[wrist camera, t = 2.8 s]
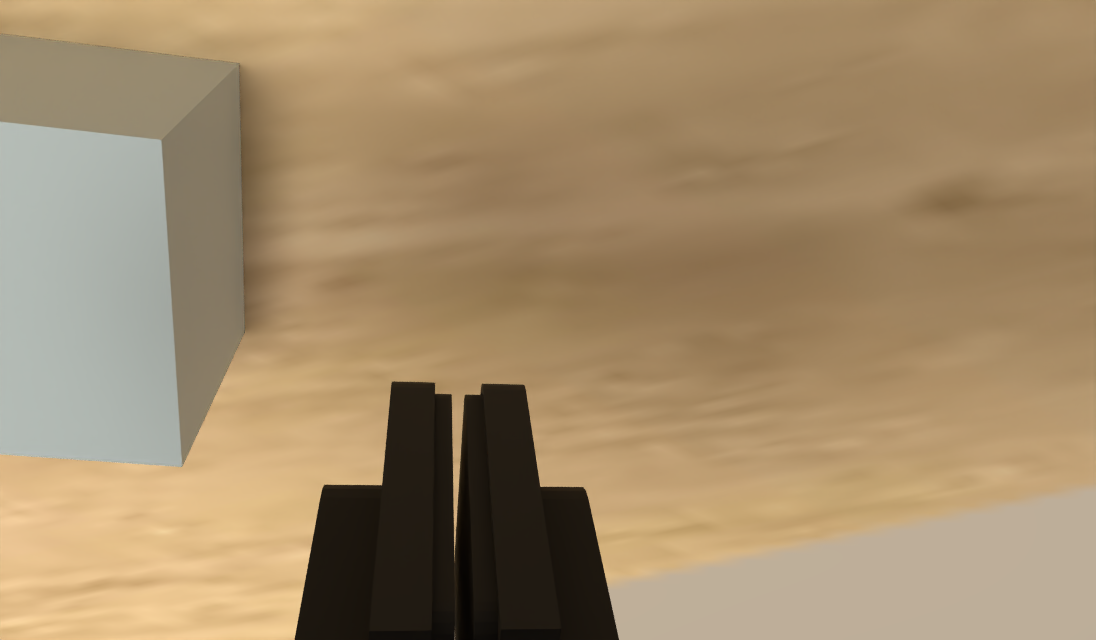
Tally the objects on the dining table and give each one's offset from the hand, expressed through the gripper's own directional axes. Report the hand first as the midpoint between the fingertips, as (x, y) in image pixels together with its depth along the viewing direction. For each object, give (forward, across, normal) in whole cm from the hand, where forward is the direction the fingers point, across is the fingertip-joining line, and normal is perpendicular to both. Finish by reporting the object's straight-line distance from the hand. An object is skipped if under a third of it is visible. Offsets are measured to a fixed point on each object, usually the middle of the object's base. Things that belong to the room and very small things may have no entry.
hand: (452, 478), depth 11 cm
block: (+9, +8, 0) cm, 12 cm away
